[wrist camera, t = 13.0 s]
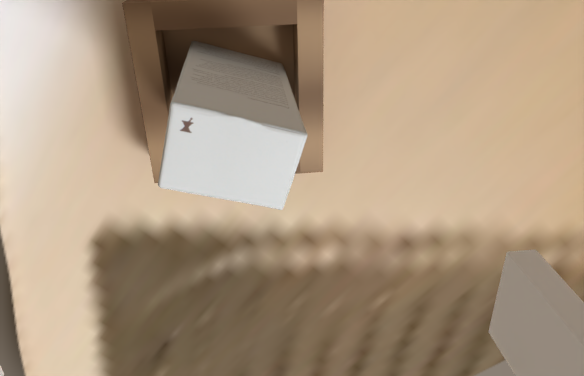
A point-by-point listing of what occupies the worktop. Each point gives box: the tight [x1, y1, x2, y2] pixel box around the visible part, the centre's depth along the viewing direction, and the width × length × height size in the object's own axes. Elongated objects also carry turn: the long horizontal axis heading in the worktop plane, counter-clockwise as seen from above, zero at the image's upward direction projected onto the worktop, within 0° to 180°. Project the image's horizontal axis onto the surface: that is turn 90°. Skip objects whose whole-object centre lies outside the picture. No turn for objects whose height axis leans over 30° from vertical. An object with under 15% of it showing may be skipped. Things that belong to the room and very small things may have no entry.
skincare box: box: [158, 41, 308, 210], centre depth 27 cm, size 6×4×12 cm
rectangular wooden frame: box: [122, 0, 324, 183], centre depth 31 cm, size 11×11×3 cm
